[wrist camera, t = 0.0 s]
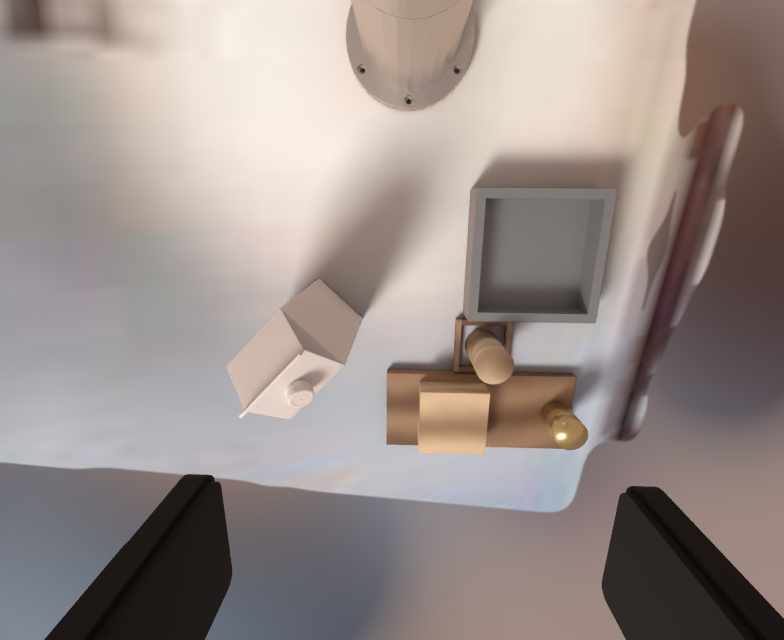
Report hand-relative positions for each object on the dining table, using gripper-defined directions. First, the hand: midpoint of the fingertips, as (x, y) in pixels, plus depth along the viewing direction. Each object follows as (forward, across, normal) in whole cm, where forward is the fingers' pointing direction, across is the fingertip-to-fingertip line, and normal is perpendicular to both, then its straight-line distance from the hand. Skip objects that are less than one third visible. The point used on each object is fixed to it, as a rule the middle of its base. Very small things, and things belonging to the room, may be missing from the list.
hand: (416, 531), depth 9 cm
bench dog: (+36, -19, +17) cm, 44 cm away
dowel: (+37, -10, +8) cm, 39 cm away
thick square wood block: (+36, -6, +17) cm, 40 cm away
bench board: (+37, -10, +17) cm, 41 cm away
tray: (+37, -14, -3) cm, 39 cm away
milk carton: (+37, +10, +5) cm, 39 cm away
